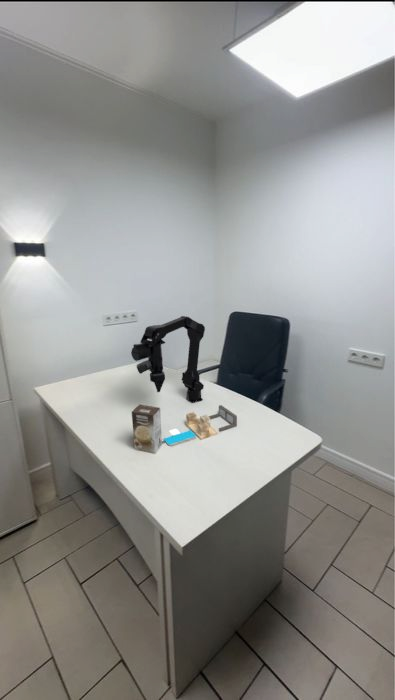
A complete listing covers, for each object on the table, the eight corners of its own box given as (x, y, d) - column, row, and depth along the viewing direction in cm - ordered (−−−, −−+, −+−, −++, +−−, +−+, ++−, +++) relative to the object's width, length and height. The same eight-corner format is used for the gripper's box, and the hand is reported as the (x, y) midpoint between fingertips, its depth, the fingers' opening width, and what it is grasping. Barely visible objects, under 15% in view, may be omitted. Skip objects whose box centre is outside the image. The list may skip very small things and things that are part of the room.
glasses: (221, 414, 142) (221, 404, 140) (236, 426, 132) (236, 415, 130) (205, 419, 138) (205, 409, 137) (220, 431, 128) (220, 420, 126)
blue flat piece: (193, 424, 135) (193, 421, 135) (207, 437, 125) (207, 434, 125) (150, 437, 126) (149, 434, 126) (161, 452, 116) (160, 449, 116)
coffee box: (133, 449, 117) (130, 411, 113) (142, 440, 123) (138, 404, 119) (155, 454, 114) (152, 414, 110) (163, 444, 120) (160, 407, 116)
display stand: (200, 419, 138) (200, 409, 137) (217, 434, 126) (217, 423, 125) (184, 424, 134) (184, 414, 133) (200, 439, 123) (200, 428, 121)
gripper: (136, 350, 143) (140, 381, 148) (136, 363, 125) (139, 398, 130) (161, 348, 145) (163, 379, 149) (163, 361, 127) (166, 395, 132)
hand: (158, 387), depth 140 cm, fingers open, 9 cm apart
